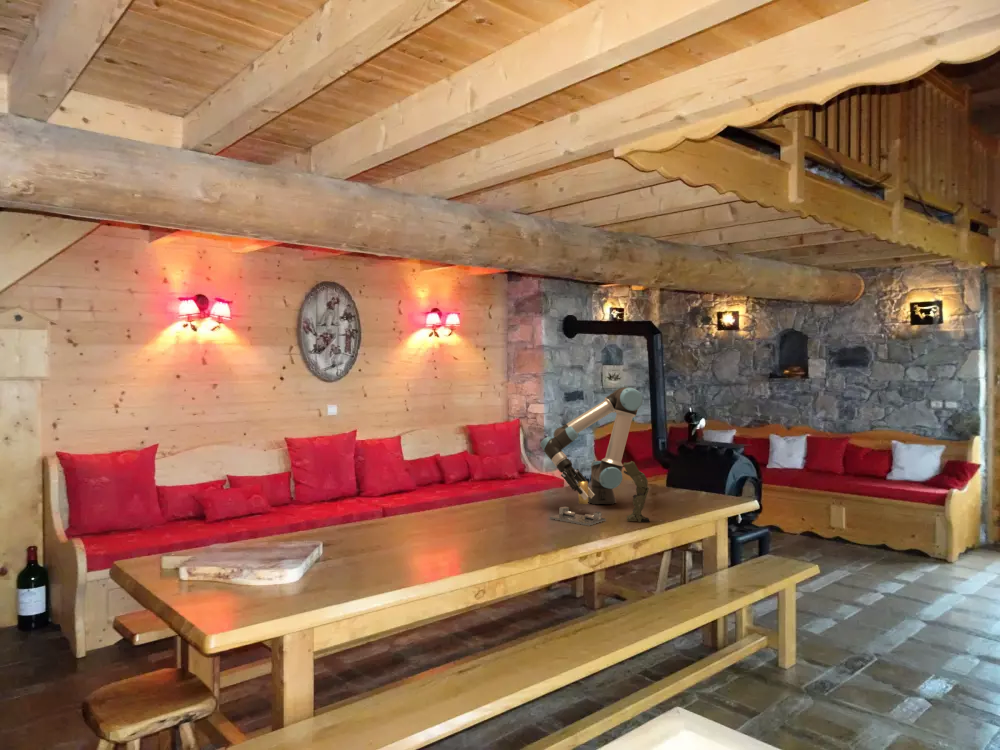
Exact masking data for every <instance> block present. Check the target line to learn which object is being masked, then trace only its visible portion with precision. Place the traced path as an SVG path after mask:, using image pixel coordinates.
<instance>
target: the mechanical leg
mask: <svg viewBox="0 0 1000 750" xmlns="http://www.w3.org/2000/svg"><path fill="white" fill-rule="evenodd" d="M622 465H623V467H624V469H625V470H623V473H624V474H625V475H627V476H629V477H630V478H631V479H632V481H633V483H634V484H635V486H636V489H635V492H636V493H635V494H633V496H632V505H633V509H632V512H631V514H629V515H626V521H627V520H628V521H638V522H637V523H650V522H651V521H650V518H649V517H647V516H644V515H643V514H642V511H643V509H644V506H645V504H646V499H647V497H648V496H647V495H648V494H649V490H650V487H649V486H648V483H649V480H648V478H647V477H646V475H645V473H643V472H642V471H640V469H639V468H638V466H637V464H636V463H635V461H632V460H631V461H629V462H623V463H622ZM628 521H627V522H628Z"/></svg>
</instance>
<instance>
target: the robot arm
mask: <svg viewBox="0 0 1000 750" xmlns="http://www.w3.org/2000/svg"><path fill="white" fill-rule="evenodd" d="M642 405H643V395H642V393H641V392H640V391H639V390H637V389H635V388H633V387H625V386H624V387H623V386H622V387H620V388H618V389H616V390H615V391H613V392H612V393H610V394H609V395H607V396H606V397H604V400H603V401H602V402H600V403H598V404H597V405H595V406H593V407H592V408H590V409H589V410H587V411H585V412H584V413H582V414H580V415H578V416H577V417H575V418H573V419H572V420H570V421H569V422H567V423H565V424H564V425H562V426H561V427H557V428H555V429H554V431H553V435H552V436H553V437H552V436H549V435H548V436H546V437H545V438H543V439H542V440H541V441H540V443H539V445H540V446H539V447H540V448H541V449H542V451H543V453H544V454H546V456H547V457H548V458H549V460H550V461H551V462H552V463H553V465H554V466H555V467H556V468H557V470H558V471H559V472H560V473H561V474H560V476H561V477H562V478H563V479H564V480H565V482H566V483H567V485H569V487H570V488H571V489H572V490H573V491H574V492H577V494H578V493H579V494H580V495H581V496H582V498H583V499H584V500H586V499H587V498H588V502H589V503H588V504H590V503H592V504H591V505H595V504H612V505H615V504H614V503H616V504H617V499H616V496H615V492H614V489H616V488H618V487H619V486H620V485H621V483H622V482H623V467H624V465H623V463H622V459H623V455H624V452H625V449H626V448H625V447H626V444H627V440H628V438H629V437H628V436H629V433H630V428H631V425H632V420H633V419H634V418H635V417H636V416H637V414H638V411H639V409H640V408H641V406H642ZM611 413H614V414H615V413H616V416H615V419H614V423H613V427H612V430H611V434H610V438H609V443H608V445H607V449H606V453H605V457H604V458H602V459H601V460H593V461H592V462H591V465H590V471H591V472H590V473H591V474H590V476H591V479H590V480H591V483H590V485H591V486H590V487H589V486H588V495H587V494H586V493H585V491H584V490H583V489H582V488H581V487H579V485H578V481H588V480H587V479H586V478H585V477H584V475H583V474H582V473H581V471H580V470H579V468H576V469H575V468H574V467H573V465H572V464H573V463H572V462H571V460H570V459H569V458H568V456H567V455H566V454H565V453H564V452H563V449H564V448H566V447H567V446H568V445H571V444H572V443H573V442H575V440H577V439H578V437H579V435H578V433H580V432H582V431H584V430H585V429H587V428H589V427H590V426H591V425H593V424H595V423H596V422H598V421H600V420H602V419H604V418H605V417H606V416H608V415H609V414H611Z"/></svg>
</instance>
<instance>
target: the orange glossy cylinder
mask: <svg viewBox="0 0 1000 750" xmlns="http://www.w3.org/2000/svg"><path fill="white" fill-rule="evenodd" d="M577 483H578V485H579V487H581V488H582V489H583V490H584V491H585V493H586V494H587V495H588V487H589V481H588V480H587V481H578V482H577ZM577 494H578V497H577V498H578V500H577V501H578V504H579V505H588V504H589V503H588V498H587V499H586V500H584V499H583V498H582V496H581V495H580V494H579V493H578V492H577Z"/></svg>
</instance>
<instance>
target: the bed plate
mask: <svg viewBox="0 0 1000 750" xmlns="http://www.w3.org/2000/svg"><path fill="white" fill-rule="evenodd" d="M558 513H559V514H555V515H551V516H549V520H551V519H555V520H554V521H556V520H560V521H559V522H562V521H566V522H565V523H568V522H571V523H570V524H574V523H576V524H575V525H580V524H581V526H586V525H589V526H588V527H591V526H590V525H592V526H594V525H593V524H595V525H597V524H596V523H598V524H600V523H599V522H601V523H603V522H602V521H605V522H606V521H607V520H606V518H603V517H602V511H594V512H593V513H592V514H588V513H585V514H584V515H583V514H577V513H576V511H570V507H569V506H561V507H559V512H558Z"/></svg>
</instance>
